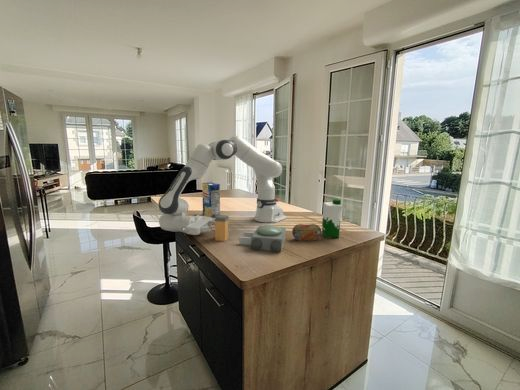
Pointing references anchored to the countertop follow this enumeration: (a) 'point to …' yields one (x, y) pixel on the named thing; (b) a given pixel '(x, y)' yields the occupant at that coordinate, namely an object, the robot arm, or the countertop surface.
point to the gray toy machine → (265, 238)
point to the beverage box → (211, 199)
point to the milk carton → (331, 218)
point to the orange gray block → (221, 227)
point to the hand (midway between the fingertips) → (214, 226)
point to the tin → (306, 232)
